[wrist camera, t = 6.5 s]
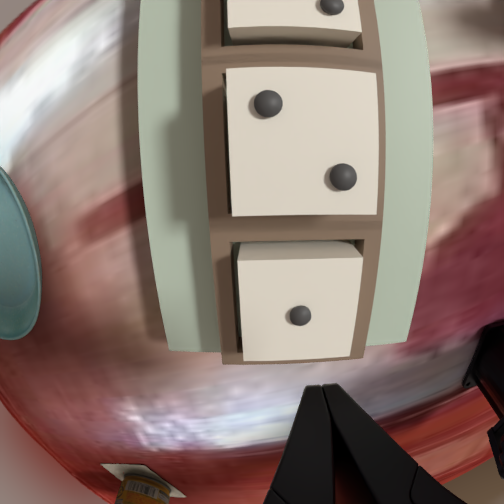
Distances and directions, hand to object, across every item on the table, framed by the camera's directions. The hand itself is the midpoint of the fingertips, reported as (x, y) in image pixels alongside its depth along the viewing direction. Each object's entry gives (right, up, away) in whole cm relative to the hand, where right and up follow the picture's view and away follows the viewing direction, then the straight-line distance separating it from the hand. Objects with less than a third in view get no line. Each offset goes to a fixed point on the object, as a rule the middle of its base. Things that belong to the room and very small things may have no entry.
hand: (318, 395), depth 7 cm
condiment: (-15, -23, +20) cm, 34 cm away
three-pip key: (0, +15, +3) cm, 15 cm away
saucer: (-22, +5, +10) cm, 24 cm away
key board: (0, +9, +7) cm, 12 cm away
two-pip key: (0, +8, +4) cm, 9 cm away
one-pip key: (0, +2, +8) cm, 8 cm away
